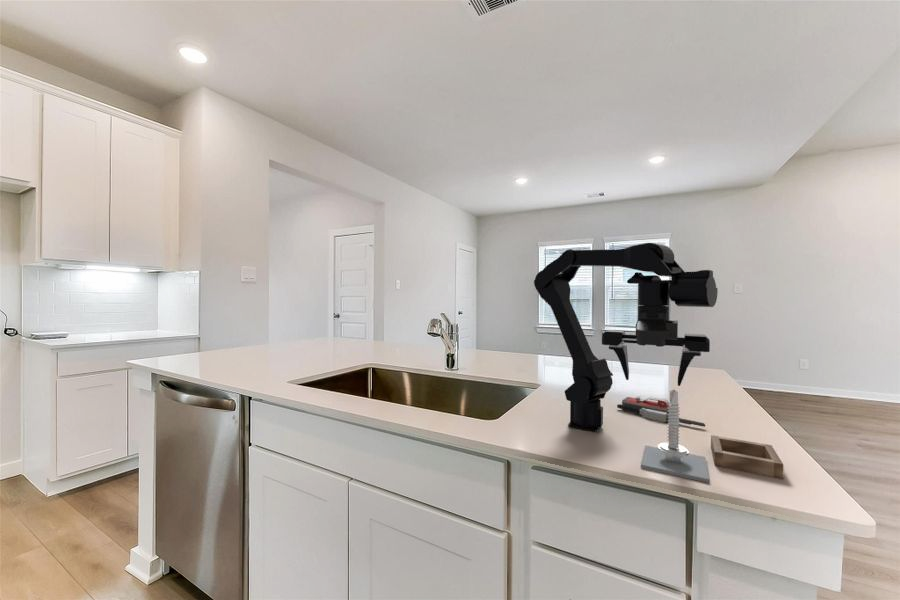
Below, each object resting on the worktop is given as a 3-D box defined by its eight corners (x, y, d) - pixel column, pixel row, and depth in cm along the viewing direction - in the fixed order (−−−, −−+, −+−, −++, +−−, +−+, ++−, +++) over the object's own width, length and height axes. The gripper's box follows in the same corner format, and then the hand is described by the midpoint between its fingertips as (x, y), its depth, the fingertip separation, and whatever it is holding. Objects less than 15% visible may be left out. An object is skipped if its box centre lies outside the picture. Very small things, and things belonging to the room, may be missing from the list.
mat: (640, 467, 66) (640, 464, 66) (645, 448, 75) (645, 445, 75) (709, 482, 61) (709, 479, 61) (705, 460, 70) (705, 456, 70)
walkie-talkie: (613, 413, 98) (704, 432, 85) (613, 396, 98) (704, 413, 85) (624, 406, 105) (710, 423, 91) (625, 390, 105) (711, 405, 91)
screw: (694, 466, 66) (666, 465, 66) (678, 454, 70) (652, 454, 71) (695, 393, 65) (667, 392, 66) (679, 386, 70) (653, 385, 70)
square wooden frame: (714, 465, 68) (714, 451, 67) (710, 447, 76) (711, 435, 76) (783, 479, 63) (783, 464, 63) (771, 458, 71) (771, 445, 71)
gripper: (597, 305, 74) (596, 384, 74) (712, 308, 64) (711, 398, 64) (606, 304, 83) (605, 374, 83) (708, 306, 73) (706, 385, 74)
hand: (652, 382), depth 76 cm, fingers open, 9 cm apart
